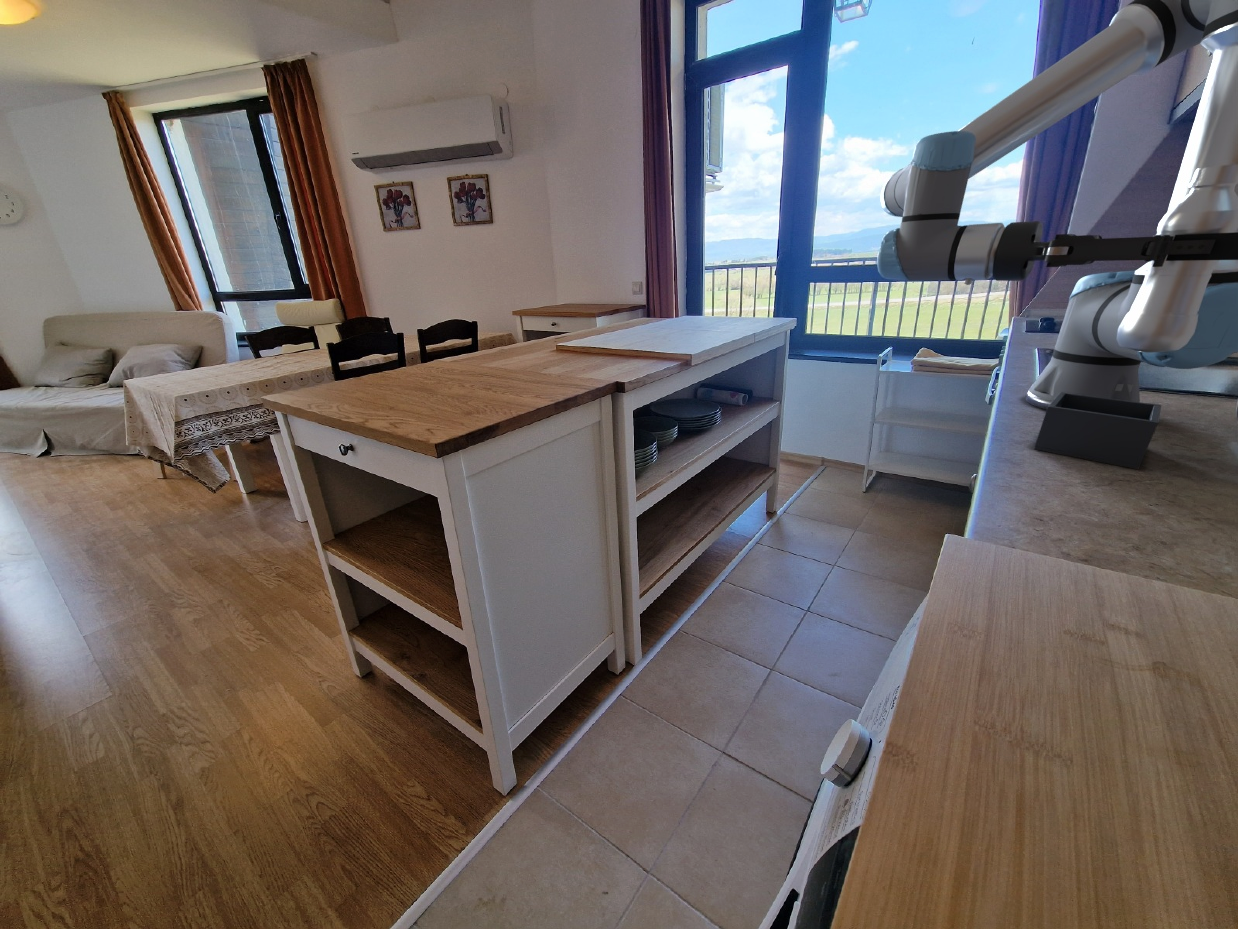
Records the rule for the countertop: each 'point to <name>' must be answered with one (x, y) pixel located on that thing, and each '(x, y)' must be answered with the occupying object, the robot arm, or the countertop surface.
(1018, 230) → the robot arm
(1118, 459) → the bin
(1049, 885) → the countertop surface
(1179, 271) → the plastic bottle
